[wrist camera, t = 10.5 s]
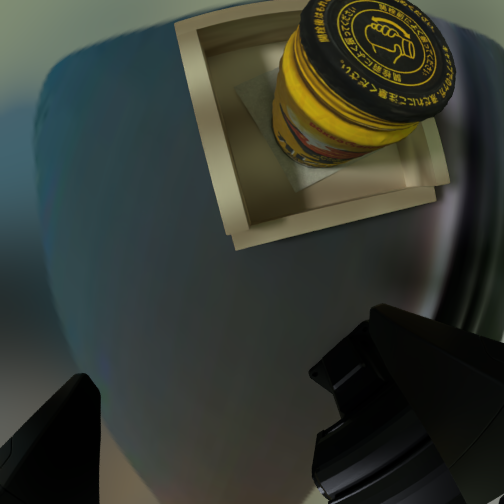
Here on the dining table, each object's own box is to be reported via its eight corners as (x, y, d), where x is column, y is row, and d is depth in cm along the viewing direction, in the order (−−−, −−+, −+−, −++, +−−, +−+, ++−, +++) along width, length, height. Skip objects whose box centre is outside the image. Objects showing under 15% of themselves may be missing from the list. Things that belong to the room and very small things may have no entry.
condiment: (295, 192, 18) (361, 183, 6) (233, 88, 16) (202, -35, 5) (382, 148, 17) (507, 108, 5) (322, 51, 16) (375, -60, 4)
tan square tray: (415, 199, 19) (453, 202, 14) (239, 242, 19) (232, 257, 15) (359, 30, 16) (379, -1, 11) (191, 56, 17) (173, 23, 12)
